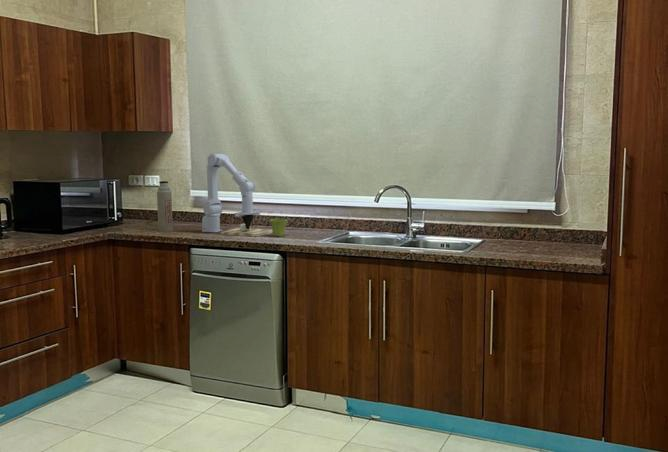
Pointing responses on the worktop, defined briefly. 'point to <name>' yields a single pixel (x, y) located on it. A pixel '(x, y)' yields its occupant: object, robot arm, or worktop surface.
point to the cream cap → (243, 227)
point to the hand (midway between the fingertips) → (247, 228)
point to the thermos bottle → (164, 207)
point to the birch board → (246, 232)
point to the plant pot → (278, 226)
